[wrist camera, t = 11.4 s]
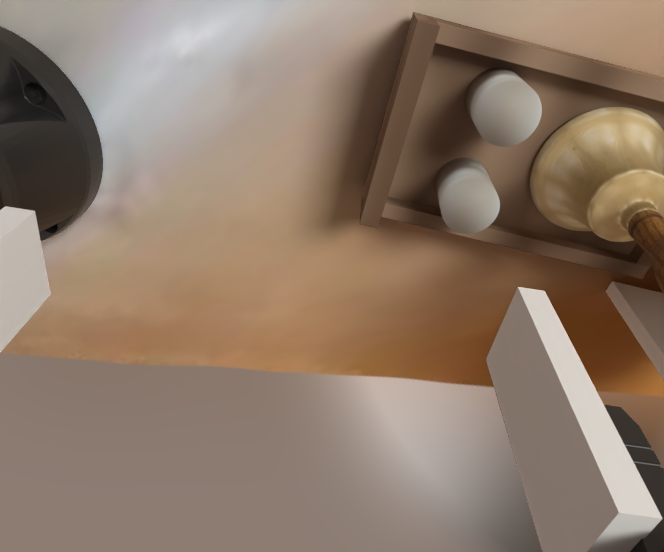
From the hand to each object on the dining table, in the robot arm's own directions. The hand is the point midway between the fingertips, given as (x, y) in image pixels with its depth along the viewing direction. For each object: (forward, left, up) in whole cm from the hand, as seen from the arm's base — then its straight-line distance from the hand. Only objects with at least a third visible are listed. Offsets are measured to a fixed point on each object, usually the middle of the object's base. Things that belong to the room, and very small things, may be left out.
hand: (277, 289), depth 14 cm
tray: (+13, 0, -22) cm, 26 cm away
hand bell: (+17, 0, -21) cm, 27 cm away
